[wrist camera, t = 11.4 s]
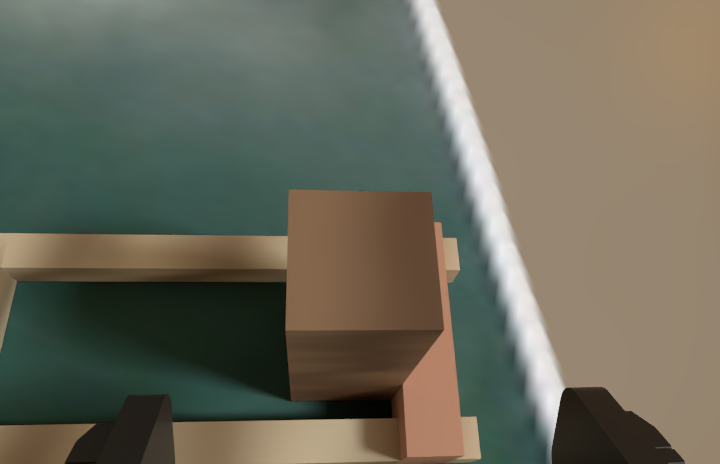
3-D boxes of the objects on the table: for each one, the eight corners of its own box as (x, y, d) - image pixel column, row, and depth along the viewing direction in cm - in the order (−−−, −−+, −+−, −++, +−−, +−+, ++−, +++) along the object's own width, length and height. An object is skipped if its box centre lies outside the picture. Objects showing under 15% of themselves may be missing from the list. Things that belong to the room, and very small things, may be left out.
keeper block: (291, 401, 24) (285, 330, 15) (293, 305, 25) (289, 189, 16) (390, 400, 24) (444, 329, 15) (385, 305, 26) (431, 192, 17)
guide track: (-88, 476, 21) (-144, 470, 19) (-25, 247, 25) (-64, 215, 22) (470, 462, 23) (492, 455, 20) (448, 252, 27) (464, 222, 24)
